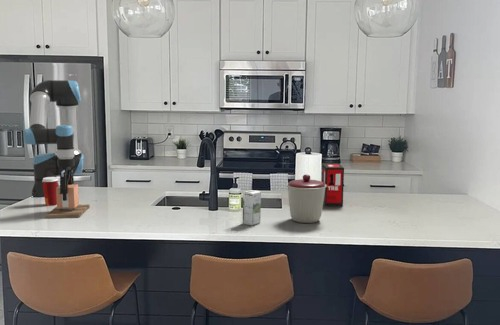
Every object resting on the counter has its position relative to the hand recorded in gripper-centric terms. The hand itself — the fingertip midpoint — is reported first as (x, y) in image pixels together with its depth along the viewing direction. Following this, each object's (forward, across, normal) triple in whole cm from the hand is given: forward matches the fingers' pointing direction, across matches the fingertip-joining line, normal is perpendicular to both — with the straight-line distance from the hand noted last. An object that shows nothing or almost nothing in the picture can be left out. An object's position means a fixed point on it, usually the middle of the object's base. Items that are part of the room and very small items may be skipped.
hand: (68, 204), depth 220 cm
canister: (+4, +25, +110) cm, 113 cm away
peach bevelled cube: (+1, 0, 0) cm, 1 cm away
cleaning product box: (+4, -9, +132) cm, 133 cm away
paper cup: (+4, -18, -14) cm, 23 cm away
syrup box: (+4, +28, +86) cm, 90 cm away
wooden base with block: (+4, 0, 0) cm, 4 cm away
